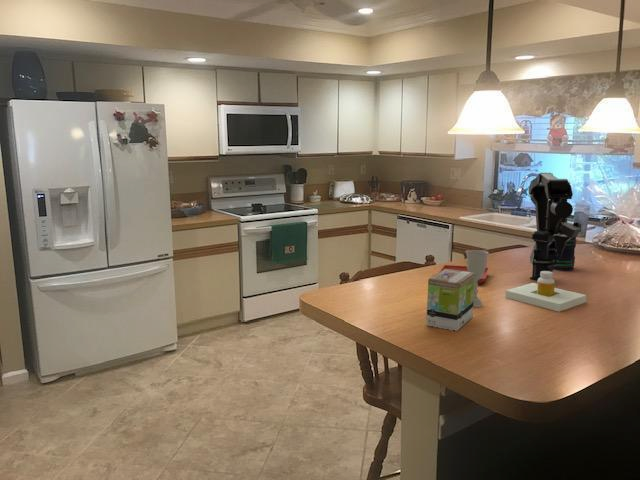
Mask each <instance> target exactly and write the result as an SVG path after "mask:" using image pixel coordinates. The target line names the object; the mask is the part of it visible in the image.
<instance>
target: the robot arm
mask: <svg viewBox="0 0 640 480" xmlns="http://www.w3.org/2000/svg"><path fill="white" fill-rule="evenodd" d="M573 193H574V192H573V190H572V185H571V182H570V181H569V180H568V179H567V178H558V177H556V176H555V175H554V174H553V173H552V172H540V173H537V177H534V178H533V179H532V180H530V183H529V186H528V195H529V199H530V201H531V202H532V203H533V205H534V207H535V221H536V222H535V223H536V230H535V231H533V232H532V233H531V240H533V241H534V242H535V244H533V248H532V250H531V253H530V256H529V263H530V264H531V265H532V273H531V274H532V276H530V277H529V279H530V280H534V281H538V278H540V277H541V276H540V272H541V271H550V272H553V271H554V270H553V269H552V265H555V264H556V260H557V256H558V255H560V256H561V255H562V253H563V250H564V248H565V246H566V244H567V242H568V241H569V240H570V239H571V238H573V237H576V238H577V237H578V236H579V234H580V233H582V223H580V222H578V221H575V222H574V223H573V222H568V218H569V217H570V216H571V215H573V214H572V213H573V211H574V210H573V209H574V208H573V206H572V204H571V203H570V202H568V200H572V199H573V196H574V194H573ZM553 237H555V242H556V248H557V250H555V242H554V241H552V240H553ZM557 252H558V253H557ZM553 273H554V272H553ZM552 278H553V279H554V277H552ZM554 280H555V279H554Z"/></svg>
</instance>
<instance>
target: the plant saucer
mask: <svg viewBox="0 0 640 480" xmlns="http://www.w3.org/2000/svg"><path fill="white" fill-rule="evenodd" d="M489 268H490V267H487V266H486V269H485V272H484V273H483V275H482V277H481V279H479V280H478V281H477V284H478V285H481V284H482V283H484V281H485V280H486V277H487V275H488V272H489ZM444 269H450V270H458V271H466V272H468V269H467V265H451V264H444V265H442V267H441V269H440V270H439V271H438V273H439V272H441V271H443V270H444Z"/></svg>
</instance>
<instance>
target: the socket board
mask: <svg viewBox="0 0 640 480" xmlns="http://www.w3.org/2000/svg"><path fill="white" fill-rule="evenodd" d="M504 297H505V298H506V299H510V300H514V301H517V302H522V303H525V304H529V305H532V306H537V307H538V308H539V307H541V308H543V309H548V310H552V311H555V312H557V313H558V312H559V313H560V312H563V311H566V310H568V309H570V308H571V309H572V308H573V307H577V306H579V305H583V304H586V302H587V294H583V293H579V292H574V291H570V290H566V289H562V288H557V287H554V296H550V297H547V296H543V295H539V294H537V283H535V282H531V283H527V284H524V285H523V284H522V285H519V286H517V287H513V288H509V289H506V290H505V296H504Z"/></svg>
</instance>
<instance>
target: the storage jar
mask: <svg viewBox="0 0 640 480" xmlns="http://www.w3.org/2000/svg"><path fill="white" fill-rule="evenodd" d="M552 241H554V242H555V237H553V240H552ZM576 246H577V237H573V238H571V239H570V240H569V241H568V242H567V244H566V246H565V248H564V250H563V253H562V255H561V256H560V255H558V256H557V260H556V264H555V265H552V269H553V271H559V272H572V271H574V270H575V267H574V266H575V263H576V262H575V261H576V260H575V259H576V256H575V252H576V251H575V250H576V249H575V248H576ZM555 250H557V248H556V242H555ZM557 253H558V252H557Z"/></svg>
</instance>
